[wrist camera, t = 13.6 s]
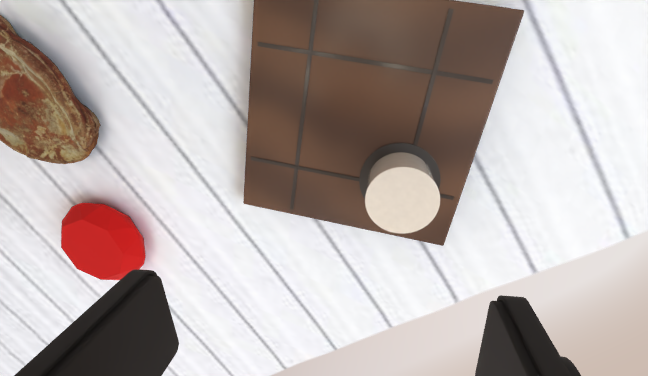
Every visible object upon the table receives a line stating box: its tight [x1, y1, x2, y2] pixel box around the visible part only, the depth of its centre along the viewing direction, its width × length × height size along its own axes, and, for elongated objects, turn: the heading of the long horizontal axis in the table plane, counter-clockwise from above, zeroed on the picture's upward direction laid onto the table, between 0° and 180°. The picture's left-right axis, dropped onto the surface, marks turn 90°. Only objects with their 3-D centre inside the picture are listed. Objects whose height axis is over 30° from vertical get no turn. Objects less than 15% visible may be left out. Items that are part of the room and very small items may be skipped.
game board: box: [244, 0, 524, 246], centre depth 26 cm, size 18×18×2 cm
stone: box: [0, 15, 101, 164], centre depth 29 cm, size 13×10×3 cm
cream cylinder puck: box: [365, 152, 440, 234], centre depth 25 cm, size 5×5×4 cm
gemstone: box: [61, 203, 145, 280], centre depth 34 cm, size 9×9×3 cm
